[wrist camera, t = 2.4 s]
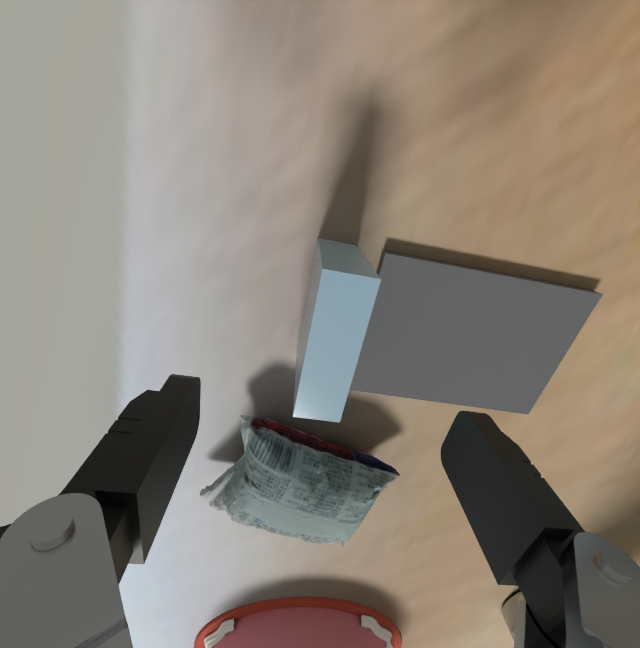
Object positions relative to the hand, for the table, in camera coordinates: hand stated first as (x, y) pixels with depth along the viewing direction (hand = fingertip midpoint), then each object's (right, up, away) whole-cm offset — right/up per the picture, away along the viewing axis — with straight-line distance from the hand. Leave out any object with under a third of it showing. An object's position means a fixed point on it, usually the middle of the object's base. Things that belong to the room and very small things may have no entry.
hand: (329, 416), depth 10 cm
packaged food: (-2, -8, +15) cm, 17 cm away
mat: (+9, +2, +10) cm, 13 cm away
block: (0, +4, +9) cm, 10 cm away
